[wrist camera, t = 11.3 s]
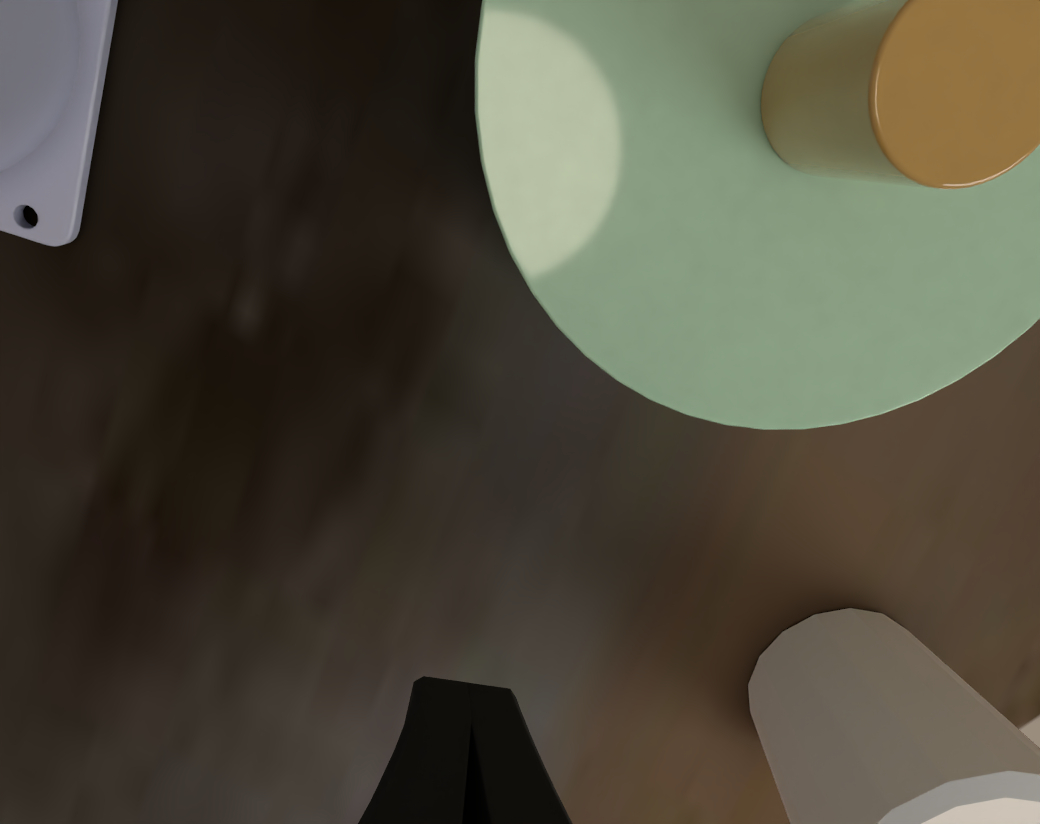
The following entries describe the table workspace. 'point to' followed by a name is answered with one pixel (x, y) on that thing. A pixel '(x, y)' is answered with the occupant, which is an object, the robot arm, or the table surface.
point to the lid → (769, 192)
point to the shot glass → (884, 731)
